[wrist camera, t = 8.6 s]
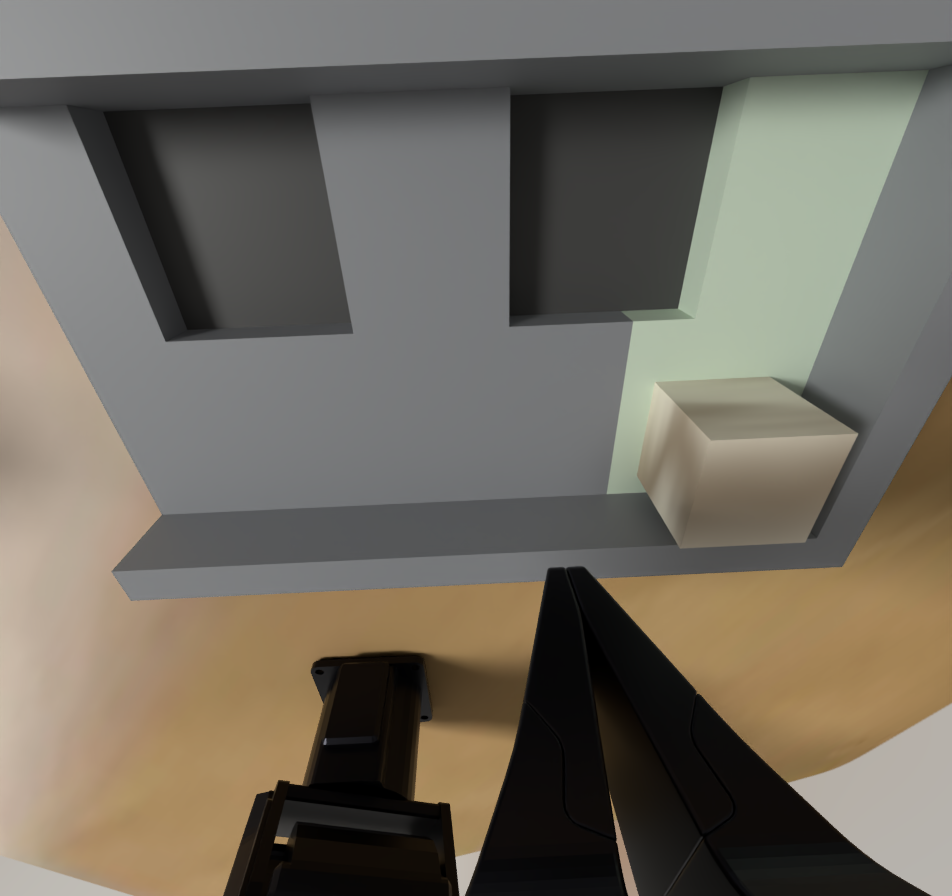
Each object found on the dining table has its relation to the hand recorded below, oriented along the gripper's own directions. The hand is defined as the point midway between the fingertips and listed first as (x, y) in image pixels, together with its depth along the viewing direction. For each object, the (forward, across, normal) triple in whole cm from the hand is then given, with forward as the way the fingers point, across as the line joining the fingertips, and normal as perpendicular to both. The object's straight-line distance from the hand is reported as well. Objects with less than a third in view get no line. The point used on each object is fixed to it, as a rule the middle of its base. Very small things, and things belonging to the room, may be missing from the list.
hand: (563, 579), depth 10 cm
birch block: (+7, -6, 0) cm, 10 cm away
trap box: (+9, +2, -3) cm, 9 cm away
